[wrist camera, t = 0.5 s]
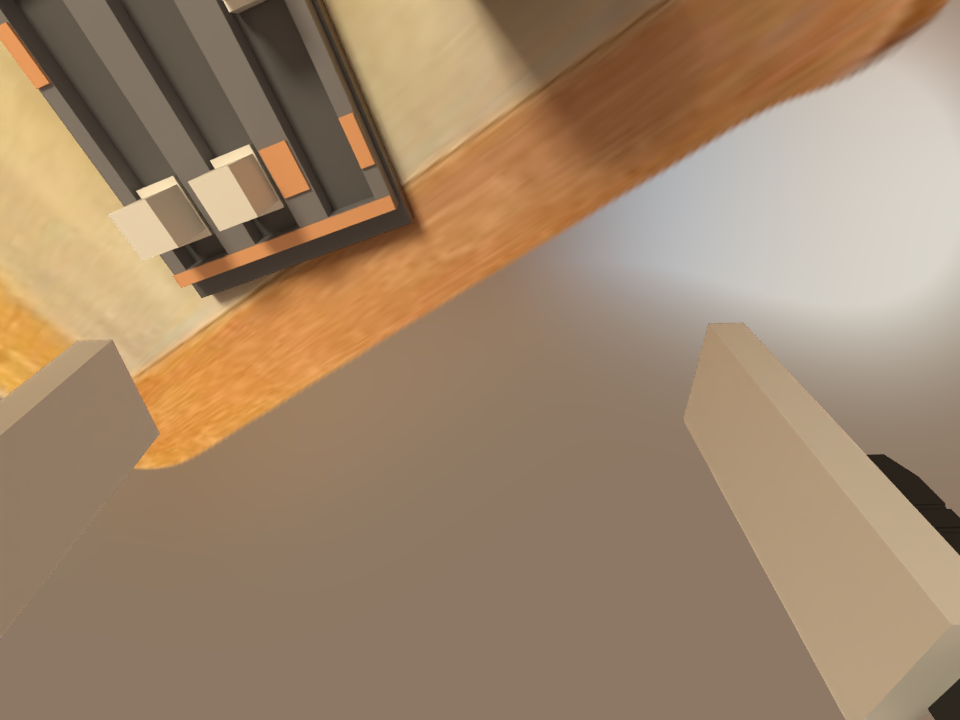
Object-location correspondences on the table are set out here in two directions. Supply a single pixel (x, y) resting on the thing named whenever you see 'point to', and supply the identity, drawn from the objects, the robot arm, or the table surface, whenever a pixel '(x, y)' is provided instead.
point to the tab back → (161, 219)
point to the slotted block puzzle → (216, 117)
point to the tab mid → (237, 188)
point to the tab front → (240, 5)
